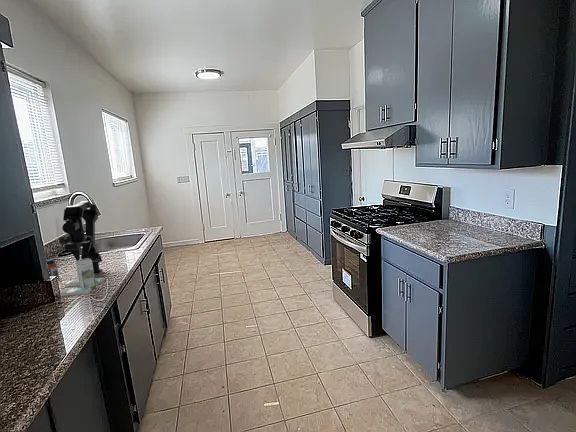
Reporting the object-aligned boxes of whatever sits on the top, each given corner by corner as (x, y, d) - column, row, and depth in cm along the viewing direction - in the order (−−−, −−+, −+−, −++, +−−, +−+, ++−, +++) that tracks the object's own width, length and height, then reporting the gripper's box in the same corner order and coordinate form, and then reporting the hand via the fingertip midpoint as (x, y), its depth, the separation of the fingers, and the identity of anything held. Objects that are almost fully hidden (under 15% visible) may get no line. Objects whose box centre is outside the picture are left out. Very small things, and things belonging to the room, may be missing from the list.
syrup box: (92, 283, 175) (87, 257, 172) (96, 286, 171) (91, 259, 168) (80, 287, 171) (74, 260, 168) (84, 290, 167) (79, 262, 164)
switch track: (69, 283, 178) (68, 280, 177) (102, 280, 179) (102, 277, 179) (50, 297, 161) (50, 293, 161) (87, 293, 163) (87, 290, 162)
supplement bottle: (43, 280, 185) (39, 261, 183) (54, 276, 190) (50, 257, 188) (51, 281, 183) (46, 262, 181) (61, 277, 188) (57, 258, 186)
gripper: (70, 227, 183) (75, 254, 186) (50, 234, 165) (56, 265, 167) (91, 225, 184) (96, 252, 187) (74, 233, 166) (79, 263, 169)
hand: (82, 258), depth 177 cm, fingers open, 9 cm apart
